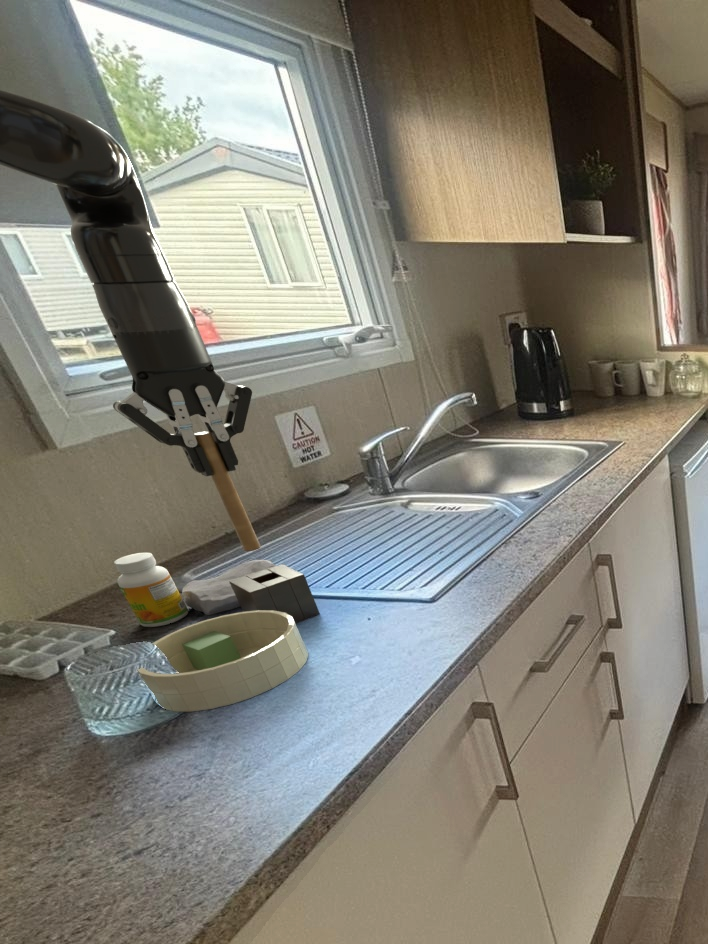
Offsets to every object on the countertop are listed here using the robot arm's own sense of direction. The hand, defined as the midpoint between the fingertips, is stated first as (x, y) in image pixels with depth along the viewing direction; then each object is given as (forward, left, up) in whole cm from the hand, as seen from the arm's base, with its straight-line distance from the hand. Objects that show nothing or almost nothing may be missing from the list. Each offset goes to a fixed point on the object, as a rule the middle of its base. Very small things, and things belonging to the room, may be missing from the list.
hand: (218, 472), depth 83 cm
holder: (0, +1, -22) cm, 22 cm away
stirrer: (0, 0, -11) cm, 11 cm away
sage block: (-10, -6, -22) cm, 25 cm away
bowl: (-10, -10, -22) cm, 26 cm away
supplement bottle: (-9, +17, -22) cm, 29 cm away
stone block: (0, +14, -22) cm, 26 cm away
